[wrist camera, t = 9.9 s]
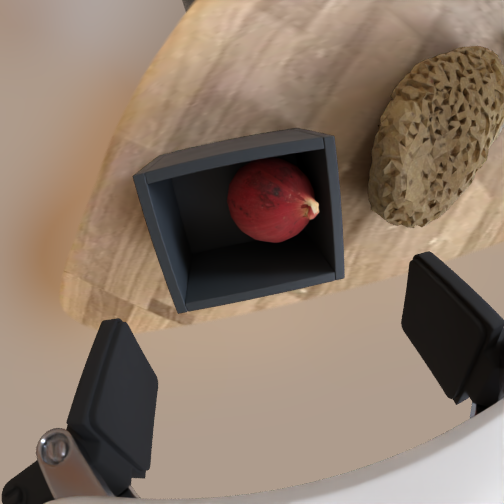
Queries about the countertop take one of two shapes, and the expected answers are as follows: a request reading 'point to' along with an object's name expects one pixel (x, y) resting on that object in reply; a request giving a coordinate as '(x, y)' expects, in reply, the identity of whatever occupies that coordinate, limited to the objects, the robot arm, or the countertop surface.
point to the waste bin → (225, 229)
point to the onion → (271, 200)
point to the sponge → (436, 135)
